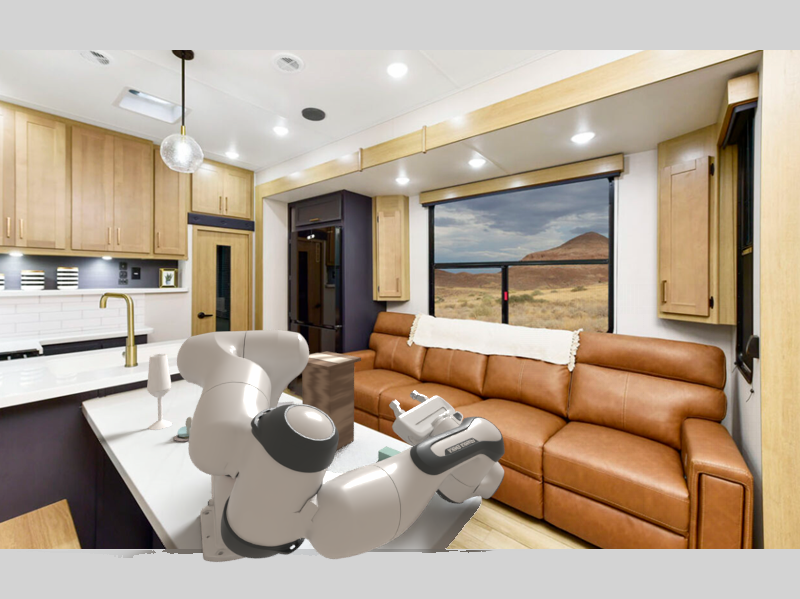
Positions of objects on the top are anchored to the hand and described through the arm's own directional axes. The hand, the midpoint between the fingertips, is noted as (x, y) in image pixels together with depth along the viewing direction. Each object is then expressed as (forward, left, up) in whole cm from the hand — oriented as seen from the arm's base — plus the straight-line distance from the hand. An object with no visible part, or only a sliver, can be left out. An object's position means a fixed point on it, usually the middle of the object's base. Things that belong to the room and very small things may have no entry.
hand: (402, 397), depth 91 cm
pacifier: (+40, +57, -20) cm, 72 cm away
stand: (+23, +16, -20) cm, 34 cm away
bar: (0, -2, -20) cm, 20 cm away
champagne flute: (+52, +67, -20) cm, 87 cm away
